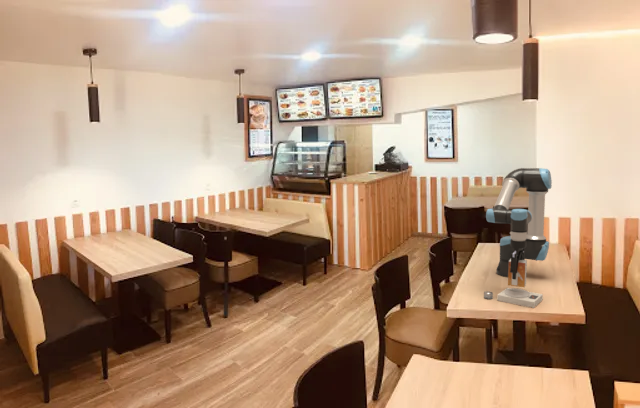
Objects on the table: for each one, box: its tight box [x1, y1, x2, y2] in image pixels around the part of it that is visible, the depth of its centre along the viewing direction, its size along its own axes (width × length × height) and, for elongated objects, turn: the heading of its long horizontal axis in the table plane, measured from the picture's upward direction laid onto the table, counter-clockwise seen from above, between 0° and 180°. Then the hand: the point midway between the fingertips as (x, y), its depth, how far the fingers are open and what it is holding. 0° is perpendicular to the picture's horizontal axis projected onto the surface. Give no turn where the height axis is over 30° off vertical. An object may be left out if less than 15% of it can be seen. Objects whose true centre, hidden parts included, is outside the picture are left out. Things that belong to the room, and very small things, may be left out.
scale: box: [496, 287, 544, 309], centre depth 235 cm, size 18×14×4 cm
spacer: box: [483, 290, 494, 300], centre depth 239 cm, size 4×4×3 cm
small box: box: [507, 259, 528, 289], centre depth 234 cm, size 8×6×13 cm
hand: (517, 282), depth 234 cm, fingers closed on small box, 7 cm apart
